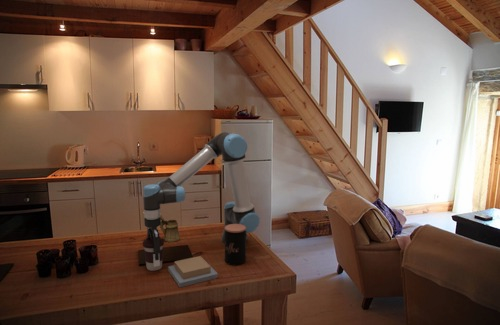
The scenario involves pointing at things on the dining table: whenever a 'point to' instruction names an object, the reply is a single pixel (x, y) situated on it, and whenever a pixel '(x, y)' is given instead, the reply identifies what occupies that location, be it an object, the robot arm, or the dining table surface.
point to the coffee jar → (235, 244)
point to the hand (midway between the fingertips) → (154, 261)
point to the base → (191, 280)
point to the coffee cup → (149, 256)
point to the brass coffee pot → (170, 230)
